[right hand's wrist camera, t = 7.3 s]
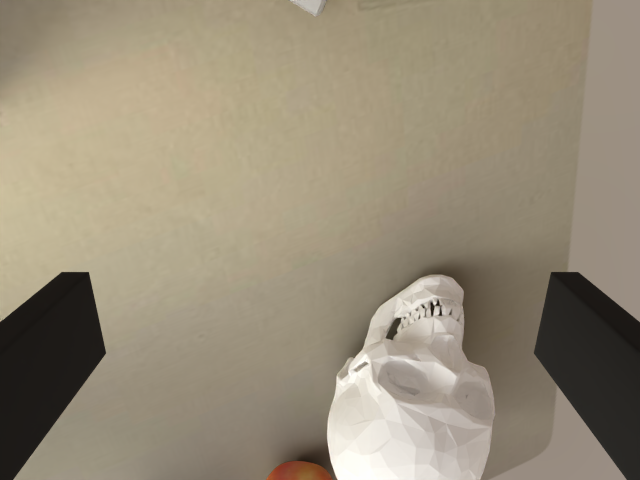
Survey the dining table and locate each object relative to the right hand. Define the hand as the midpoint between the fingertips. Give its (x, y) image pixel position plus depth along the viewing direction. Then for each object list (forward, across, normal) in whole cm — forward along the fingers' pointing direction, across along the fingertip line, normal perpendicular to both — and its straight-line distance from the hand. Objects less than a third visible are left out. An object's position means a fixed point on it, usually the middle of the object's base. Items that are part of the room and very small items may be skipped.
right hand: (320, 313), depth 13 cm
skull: (+29, +9, -23) cm, 38 cm away
